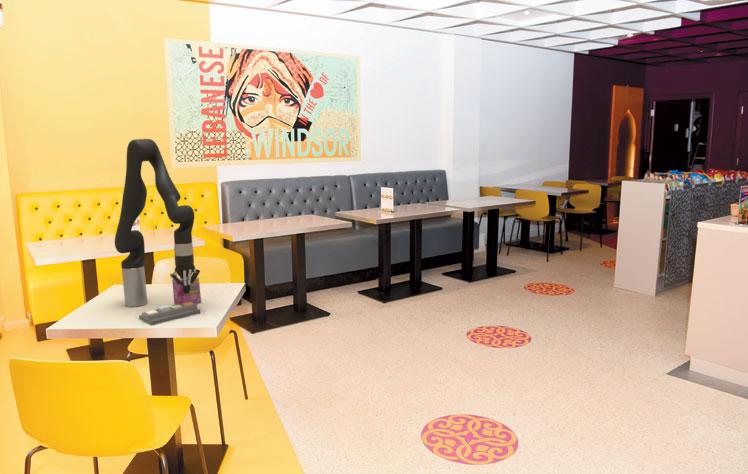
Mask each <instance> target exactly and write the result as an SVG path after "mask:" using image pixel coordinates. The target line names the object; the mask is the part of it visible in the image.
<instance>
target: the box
mask: <svg viewBox="0 0 748 474" xmlns="http://www.w3.org/2000/svg"><path fill="white" fill-rule="evenodd" d="M177 278H178V279H179V280H180V281H181V279H180V277H177ZM171 281H172V291H173V292H172V293H173V304H174V305H179V304H183V303H187V302H192V303H195V304H197V305H198V304H201V303H202V301H201V300H202V299H201V286H200V277H198V276H197V278H196V280H195V281H194V282H193V283H191V284H190V292H189V293H188V294H184V292H183V291H182V285H180V284H177V282H176V281H175V280H174V279H173V278H171Z"/></svg>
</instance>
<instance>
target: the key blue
mask: <svg viewBox="0 0 748 474" xmlns="http://www.w3.org/2000/svg"><path fill="white" fill-rule="evenodd" d="M170 306H171V305H167V304H165V305H164V304H163V305H159V306H157V307H156V308H157V309H158V311H159V312H166V311H170V310H171V309H170ZM157 309H156V310H157Z"/></svg>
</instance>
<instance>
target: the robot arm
mask: <svg viewBox="0 0 748 474" xmlns="http://www.w3.org/2000/svg"><path fill="white" fill-rule="evenodd" d="M143 162H149V164H150V166H152V168H153V171H154V182H155V188H156V190H157V193H158V194H159V195H160V199H162V201H163V204H164V207H165V211H166V214H167V218H168V219H169V220H170V222H172V223H173V224H175V225H179V226H178V227H177V228H175V230H174V231H173V239H174V240H173V241H174V246H173V251H174V263H175V264H174V265H175V268H174V271H173V273H170V274H169V276H170V278H171V279H174V280H175V281H176V282H177V284H180V285H182V291H183V292H184V294H188V293H189V292H190V284H191V283H193V282H194V281H195V280H196V278H197V277H198V276H199V274H200V273H201V270H200V269H197V268H196V265H195V261H194V260H195V259H194V258H195V255H194V252H195V251H194V246H193V234H192V232H193V228H194V223H195V211H194V209H193V207H192V206H190V205H188V204H187V205H186V204H184V205H179V203H178V202H179V201H180V200H181V197H182V196H181V194H180V192H179V190H178V189H177V187H176V185H175V183H174V182H173V180H172V178H171V177H170V174H169V171H168V169H167V166H166V164H165V161H164V159H163V156H162V153H161V151H160V149H159V146H158V144H157V143H156V142H155V141H154V140H153V139H151V138H136V139H132V140H130V141H129V143H128V144H127V148H126V164H125V165H126V166H125V167H126V168H125V178H124V179H125V180H124V187H123V192H122V200H121V201H122V202H121V209H120V213H119V215H120V216H119V221H118V224H117V228H116V232H115V235H114V247H115V250H116V251H117V252H118V253H120V254H128V256H126V258H124V259H123V260H122V261H121V263H120V265H121V276H122V284H123V285H122V286H123V296H124V306H125V307H128V308H134V307H136V308H137V307H141V306H144V305H147V304H148V292H147V284H146V283H147V282H146V274H145V260H146V256H145V255H146V252H145V251H146V250H145V237H144V236H143V234H142V231H139V230H136V229H134V230H132V229H133V227H134V223H135V222H136V221H137V220H138V218H139V216H140V215H141V214H142V212H143V211H144V209H145V206H146V203H147V196H148V189H147V187H146V184H145V182H144V180H143V178H142V166H143ZM178 278H180V279H181V281H180V280H179V279H178Z"/></svg>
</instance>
